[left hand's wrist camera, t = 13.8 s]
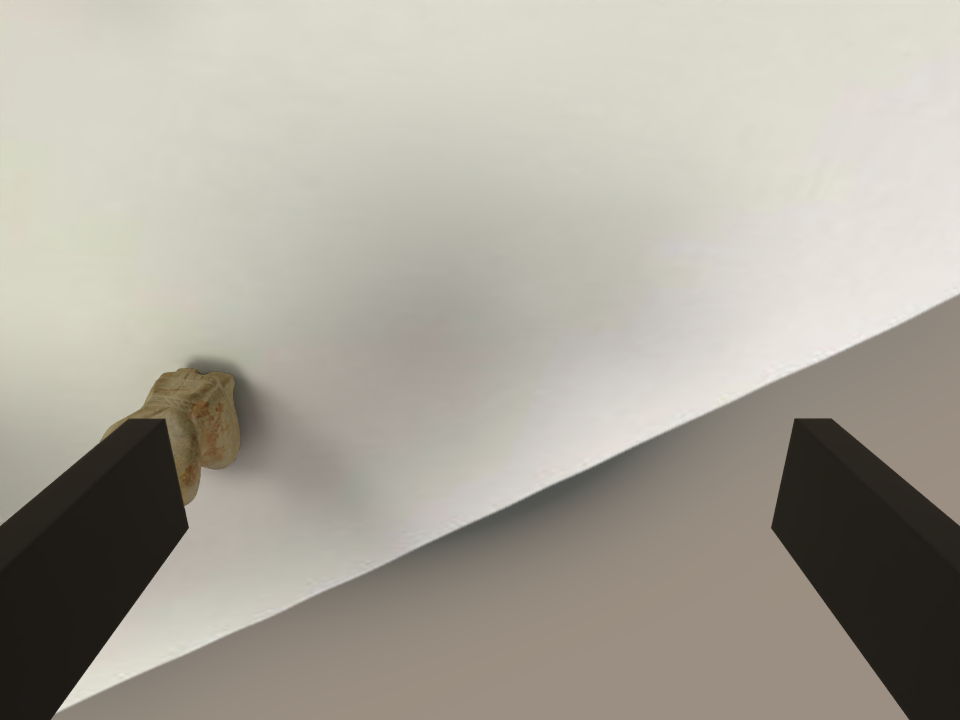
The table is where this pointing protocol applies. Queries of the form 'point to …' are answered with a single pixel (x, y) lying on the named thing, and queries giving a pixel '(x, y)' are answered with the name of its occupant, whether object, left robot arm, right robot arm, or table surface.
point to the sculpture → (194, 422)
